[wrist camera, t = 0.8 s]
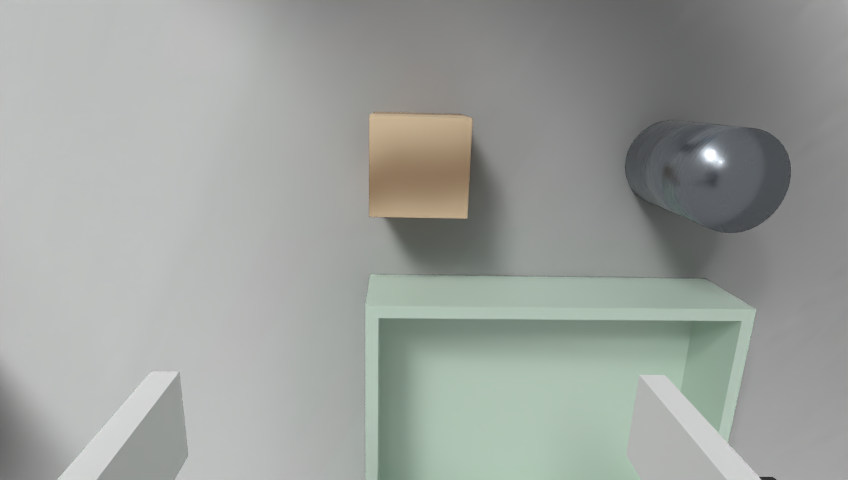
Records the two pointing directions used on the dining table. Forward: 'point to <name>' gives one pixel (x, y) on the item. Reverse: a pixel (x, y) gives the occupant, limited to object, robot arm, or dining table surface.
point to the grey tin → (710, 172)
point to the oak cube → (419, 165)
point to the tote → (537, 370)
